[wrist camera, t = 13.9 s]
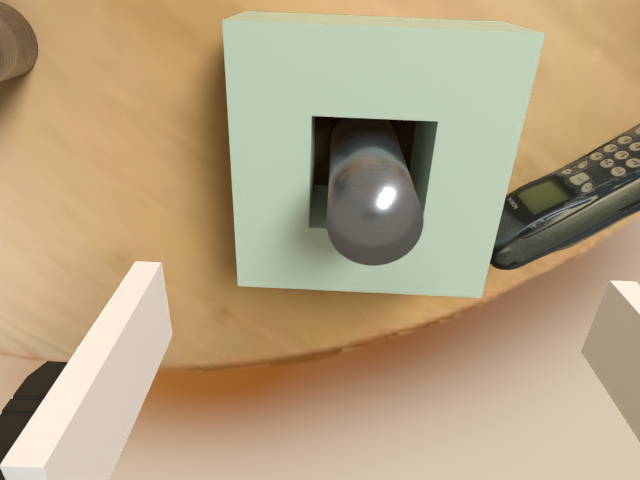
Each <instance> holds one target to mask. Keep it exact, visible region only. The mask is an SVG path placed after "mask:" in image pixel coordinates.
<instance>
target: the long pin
mask: <svg viewBox="0 0 640 480" xmlns="http://www.w3.org/2000/svg"><path fill="white" fill-rule="evenodd" d="M423 223H424V219H423V212H422V209H421V206H420V203H419V200H418V197H417V194H416V191H415V188H414V186H413V183H412V180H411V177H410V174H409V171H408V168H407V165H406V163H405V160H404V157H403V154H402V151H401V148H400V145H399V142H398V140H397V137H396V134H395V131H394V128H393V126H392V125H391V123H390V122H389V121H388V120H387V119H369V118H346V117H343V118H342V119H341V120H340V121H339V122H338V123H337V125H336V126H335V128H334V130H333V133H332V136H331V148H330V167H329V187H328V206H327V232H328V236H329V239H330V241H331V243H332V244H333V246H334V247H335V249H336V250H337V251H338V252H339V253H340V254H341V255H343V256H344V257H345V258H347V259H349V260H351V261H353V262H355V263H358V264H362V265H370V266H378V265H384V264H389V263H392V262H394V261H396V260H399V259H400V258H402V257H404V256H405V255H406V254H408V253H409V252H410V251H411V250H412V249H413V248H414V246H415V245H416V244H417V242H418V240H419V239H420V236H421V234H422V230H423Z"/></svg>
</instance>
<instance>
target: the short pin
mask: <svg viewBox="0 0 640 480" xmlns="http://www.w3.org/2000/svg"><path fill="white" fill-rule="evenodd" d="M37 56H38V44H37V39H36V36H35V34H34V31H33V29H32V27H31V26H30V24H29V23H28V21H27V20H26V19H25V18H24V17H23V16H22V15H21V14H20V13H19V12H18V11H17V10H16V9H14V8H13V7H11V6H9V5H7V4H5V3H2V2H0V82H1V81H4V80H7V79H10V78H13V77H17V76H20V75H23V74H25V73H27V72H28V71H30V70H31V69H32V68H33V66H34V65H35V63H36V60H37Z"/></svg>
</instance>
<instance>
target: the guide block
mask: <svg viewBox="0 0 640 480" xmlns="http://www.w3.org/2000/svg"><path fill="white" fill-rule="evenodd" d="M222 26H223V43H224V60H225V77H226V94H227V111H228V128H229V144H230V161H231V178H232V195H233V212H234V229H235V246H236V263H237V280H238V286H247V287H267V288H288V289H309V290H329V291H350V292H371V293H391V294H412V295H432V296H453V297H474V298H481V297H482V293H483V289H484V285H485V281H486V276H487V272H488V268H489V264H490V260H491V256H492V252H493V248H494V243H495V239H496V235H497V231H498V227H499V223H500V219H501V215H502V210H503V206H504V202H505V198H506V194H507V190H508V186H509V182H510V177H511V173H512V169H513V165H514V161H515V157H516V153H517V149H518V144H519V140H520V136H521V132H522V128H523V124H524V120H525V116H526V111H527V107H528V103H529V99H530V95H531V91H532V87H533V83H534V78H535V74H536V70H537V66H538V62H539V58H540V54H541V50H542V45H543V41H544V37H545V33H542V32H539V31H535V30H532V29H528V28H525V27H521V26H518V25H515V24H511V23H508V22H504V21H483V20H459V19H434V18H409V17H385V16H360V15H335V14H311V13H286V12H262V11H244V12H242V13H239V14H237V15H234V16H232V17H229V18H227V19H224V20H222ZM316 116H323V117H346V118H369V119H392V120H415V121H416V125H415V133H414V140H413V148H412V155H411V163H410V170H409V174H410V177H411V180H412V183H413V186H414V188H415V191H416V194H417V197H418V200H419V203H420V206H421V209H422V212H423V219H424V223H423V230H422V234H421V236H420V239H419V240H418V242H417V244H416V245H415V246H414V248H413V249H412V250H411V251H410V252H409V253H408V254H406V255H405V256H404V257H402V258H400V259H399V260H396V261H394V262H392V263H389V264H384V265H378V266H370V265H362V264H358V263H355V262H353V261H351V260H349V259H347V258H345V257H344V256H343V255H341V254H340V253H339V252H338V251H337V250H336V249H335V247H334V246H333V244H332V243H331V241H330V239H329V236H328V232H327V206H328V187H329V185H314V162H315V129H316Z"/></svg>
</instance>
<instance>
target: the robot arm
mask: <svg viewBox="0 0 640 480" xmlns="http://www.w3.org/2000/svg"><path fill="white" fill-rule="evenodd" d="M172 335H173V334H172V327H171V321H170V314H169V308H168V301H167V294H166V288H165V281H164V275H163V268H162V262H138V261H135V263H134V264H133V266H132V267H131V269H130V270H129V272H128V273H127V275H126V276H125V278H124V279H123V281H122V282H121V284H120V285H119V287H118V288H117V290H116V291H115V293H114V294H113V296H112V297H111V299H110V300H109V302H108V303H107V305H106V306H105V308H104V309H103V311H102V312H101V314H100V315H99V317H98V318H97V320H96V321H95V323H94V324H93V326H92V327H91V329H90V330H89V332H88V333H87V335H86V336H85V338H84V339H83V341H82V342H81V344H80V345H79V347H78V348H77V350H76V351H75V353H74V354H73V356H72V357H71V359H70V360H69V362H52V361H47V362H46V363H45V364H43V365H42V366H41V367H39V368H38V369H37V370H36V371H34V372H33V373H32V374H30V375H29V376H28V377H27V378H26V379H25V380H24V382H23V383H22V385H21V386H20V387H19V388H18V390H17V391H16V393H15V394H14V397H13V399H10V401H9V402H8V403H7V405H6V406H5V407H4V409H3V410H2V414H1V415H0V480H110V479H111V476H112V474H113V472H114V469H115V467H116V465H117V462H118V460H119V458H120V456H121V453H122V451H123V449H124V446H125V444H126V442H127V439H128V437H129V435H130V432H131V430H132V428H133V426H134V423H135V421H136V419H137V416H138V414H139V412H140V409H141V407H142V405H143V402H144V400H145V398H146V395H147V393H148V391H149V389H150V386H151V384H152V382H153V379H154V377H155V374H156V372H157V370H158V368H159V365H160V363H161V361H162V359H163V356H164V354H165V352H166V349H167V347H168V345H169V342H170V340H171V338H172ZM581 352H582V354H583V355H584V357H585V358H586V360H587V361H588V363H589V364H590V366H591V367H592V369H593V370H594V372H595V374H596V375H597V377H598V378H599V380H600V381H601V383H602V384H603V386H604V387H605V389H606V391H607V392H608V394H609V395H610V397H611V398H612V399H613V401H614V403H615V404H616V406H617V407H618V409H619V410H620V412H621V414H622V415H623V417H624V418H625V420H626V421H627V423H628V424H629V426H630V427H631V429H632V431H633V432H634V434H635V435H636V437H637V438H638V440H639V441H640V285H639V284H638V283H637V282H634V281H632V282H631V281H609V284H608V286H607V289H606V291H605V294H604V296H603V299H602V301H601V304H600V306H599V309H598V311H597V314H596V316H595V319H594V321H593V324H592V326H591V329H590V331H589V334H588V336H587V338H586V341H585V344H584V346H583V348H582V351H581Z"/></svg>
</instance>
